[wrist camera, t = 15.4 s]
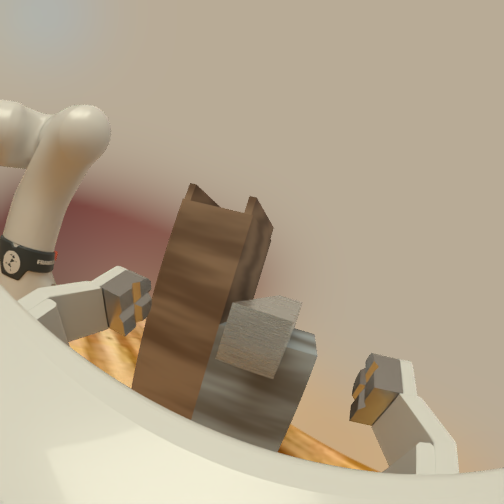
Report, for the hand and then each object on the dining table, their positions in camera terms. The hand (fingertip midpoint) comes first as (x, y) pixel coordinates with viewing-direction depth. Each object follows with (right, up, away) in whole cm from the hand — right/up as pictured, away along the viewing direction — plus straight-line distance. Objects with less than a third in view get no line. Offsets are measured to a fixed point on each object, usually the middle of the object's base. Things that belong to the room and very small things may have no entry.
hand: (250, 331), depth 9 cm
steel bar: (+2, -5, +14) cm, 15 cm away
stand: (-6, -20, +17) cm, 27 cm away
